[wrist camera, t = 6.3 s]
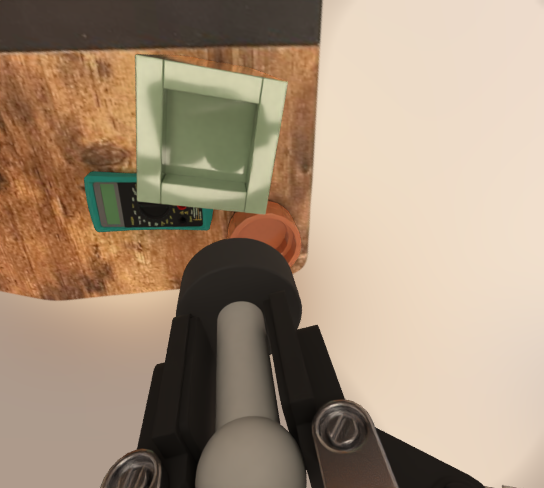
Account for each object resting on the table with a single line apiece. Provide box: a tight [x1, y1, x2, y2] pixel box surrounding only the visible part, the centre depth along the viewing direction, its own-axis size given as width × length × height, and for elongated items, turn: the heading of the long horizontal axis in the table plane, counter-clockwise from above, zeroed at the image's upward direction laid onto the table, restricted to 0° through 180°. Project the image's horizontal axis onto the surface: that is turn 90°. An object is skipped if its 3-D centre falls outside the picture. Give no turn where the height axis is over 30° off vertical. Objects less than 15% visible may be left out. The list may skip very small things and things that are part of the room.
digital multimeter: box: [84, 171, 213, 232], centre depth 43 cm, size 7×15×3 cm, turn 87°
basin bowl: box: [227, 201, 301, 267], centre depth 47 cm, size 9×10×5 cm
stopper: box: [176, 238, 306, 488], centre depth 10 cm, size 4×4×8 cm
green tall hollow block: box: [135, 54, 288, 215], centre depth 30 cm, size 8×8×23 cm
